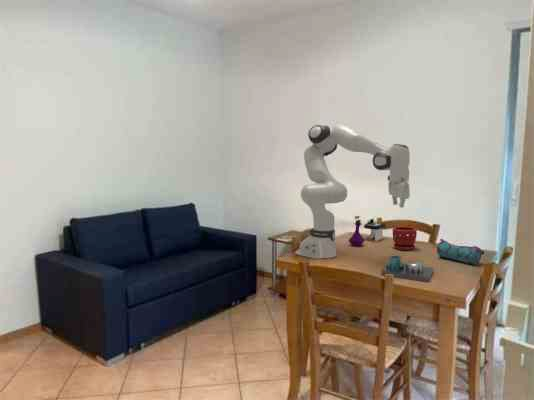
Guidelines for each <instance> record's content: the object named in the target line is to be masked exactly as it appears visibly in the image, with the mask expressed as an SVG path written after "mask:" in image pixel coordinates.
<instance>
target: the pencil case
mask: <svg viewBox="0 0 534 400" xmlns="http://www.w3.org/2000/svg"><path fill="white" fill-rule="evenodd" d="M439 241H440V242H438V244H437V247H436V253H437V255H438V256H439V257H440V258H445V259H447V260H453V261H457V262H461V263H464V264H468V265H474V266H478V264H479V263H480V262H481V259H482V255H485V251H484V250H482V249H481V247H479V246H478V245H477V246H476V245H471V246H469V245H456V244H452V243H450V242H448V241H447V240H445V239H443V238H440V239H439Z"/></svg>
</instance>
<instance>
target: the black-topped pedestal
mask: <svg viewBox="0 0 534 400" xmlns="http://www.w3.org/2000/svg"><path fill="white" fill-rule="evenodd" d="M363 228H364V229H368V230H370V237H369V238H370V240H371V239H374V240H375V242H378V241H380V240H382V236H383V235H382V231H383V228H386V223H381V222H377V221H376V220H375V218H370V219H368V220H367V222H366V223H365V224H364V225H363Z"/></svg>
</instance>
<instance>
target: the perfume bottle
mask: <svg viewBox="0 0 534 400" xmlns="http://www.w3.org/2000/svg"><path fill="white" fill-rule="evenodd" d="M354 219H355V223H354V226H355V231H354V232H353V234H352V236H350V238H349V239H348V243H350V245H351V246H352V247H361V246H363V244H364V242H365V238H364V237H363V236H362V235H361V233H360V227H361V225H362V223H361V222H362V220H361V219H360V216H359V215H354Z"/></svg>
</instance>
